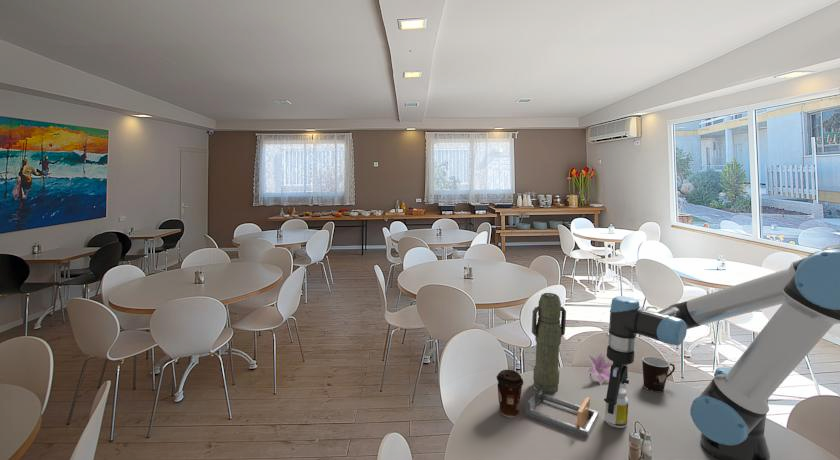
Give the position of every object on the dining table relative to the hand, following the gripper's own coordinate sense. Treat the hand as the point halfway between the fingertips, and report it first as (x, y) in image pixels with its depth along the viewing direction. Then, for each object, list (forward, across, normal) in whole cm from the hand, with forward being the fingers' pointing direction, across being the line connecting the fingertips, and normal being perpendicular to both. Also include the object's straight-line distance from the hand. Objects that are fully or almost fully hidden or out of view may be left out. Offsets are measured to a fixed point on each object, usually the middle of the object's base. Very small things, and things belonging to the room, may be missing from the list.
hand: (615, 411), depth 122 cm
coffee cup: (+4, +15, -29) cm, 33 cm away
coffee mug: (+4, -33, +8) cm, 34 cm away
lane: (+4, +7, -14) cm, 16 cm away
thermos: (+4, -8, -24) cm, 26 cm away
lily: (+4, -26, -10) cm, 28 cm away
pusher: (+3, +7, -14) cm, 16 cm away
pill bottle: (+4, 0, 0) cm, 4 cm away
